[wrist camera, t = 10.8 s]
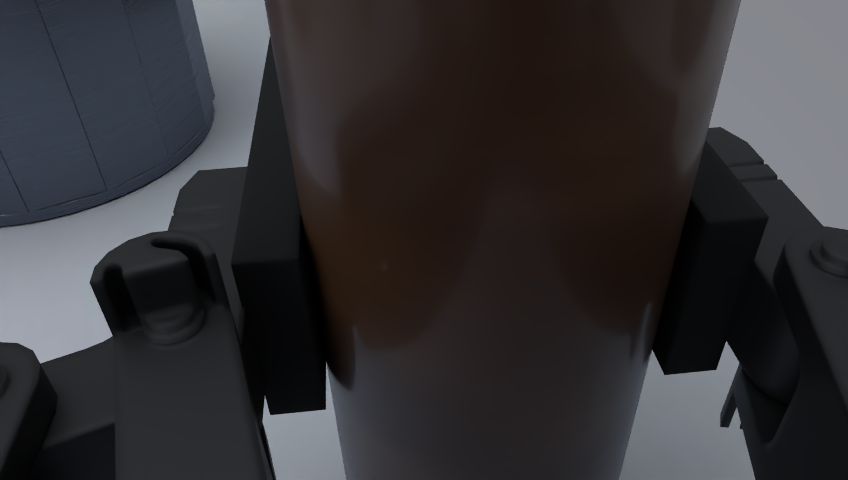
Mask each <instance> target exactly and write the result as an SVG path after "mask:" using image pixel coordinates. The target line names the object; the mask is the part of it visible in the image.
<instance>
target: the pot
mask: <svg viewBox="0 0 848 480" xmlns="http://www.w3.org/2000/svg"><path fill="white" fill-rule="evenodd" d="M214 96H215V95H214V91H213V87H212V83H211V78H210V74H209V70H208V66H207V61H206V57H205V53H204V49H203V44H202V40H201V36H200V32H199V27H198V23H197V19H196V15H195V10H194V6H193V2H192V0H0V227H1V226H10V225H18V224H25V223H30V222H36V221H41V220H47V219H51V218H55V217H59V216H63V215H67V214H71V213H75V212H78V211H81V210H84V209H87V208H90V207H94V206H97V205H100V204H102V203H105V202H107V201H110V200H112V199H115V198H118V197H120V196H123V195H125V194H127V193H129V192H131V191H133V190H135V189H137V188H140V187H142V186H144V185H146V184H147V183H149V182H151V181H153V180H154V179H156V178H158V177H160V176H161V175H163V174H165V173H166V172H167V171H169V170H170V169H172V168H173V167H175V166H176V165H178V164H179V163H180V162H181V161H183V160H184V159H185V158H186V157H187V156H188V155H190V154H191V153H192V152H193V151H194V150H195V149H196V147H197V146H198V145H199V144H200V143H201V142H202V141H203V139H204V138H205V136H206V135H207V133H208V132H209V129H210V127H211V125H212V122H213V117H214V104H213V100H214Z"/></svg>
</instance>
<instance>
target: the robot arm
mask: <svg viewBox="0 0 848 480" xmlns="http://www.w3.org/2000/svg"><path fill="white" fill-rule="evenodd" d="M173 212H174V216H172V218H171V221H170V225H169V228H168V231H162V232H153V233H149V234H146V235H143V236H140V237H137V238H134V239H131V240H128V241H126V242H125V243H123V244H121V245H120V246H118V247H116V248H115V249H113V250H111V251H110V252H108V253H107V254H106V255H105V257H104V258H103V259H102V260H101V261H100V262H99V263H98V264H97V265H96V266H95V268H94V271H93V274H92V277H91V280H90V285H91V287H92V289H93V291H94V294H95V296H96V298H97V301H98V303H99V305H100V307H101V310H102V312H103V314H104V317H105V319H106V321H107V323H108V326H109V328H110V330H111V333H112V335H113V336H112V337H111V338H109V339H107V340H106V341H104V342H102V343H99V344H97V345H94V346H92V347H89V348H87V349H84V350H81V351H78V352H75V353H72V354H69V355H66V356H63V357H59V358H56V359H53V360H50V361H47V362H44V363H41V364H40V363H39V361H38V359H37V357H36V355H35V353H34V352H33V350H31V349H29V348H26V347H24V346H22V345H20V344H18V343H3V342H0V480H276V476H275V472H274V467H273V463H272V458H271V454H270V449H269V445H268V440H267V437H266V433H265V429H264V426H263V422H262V419H263V408H264V398H265V397H266V400H267V404H268V408H269V412H270V415H275V414H285V413H295V412H305V411H315V410H325V409H326V357H325V351H324V346H323V340H322V334H321V328H320V322H319V316H318V311H317V305H316V299H315V293H314V287H313V281H312V275H311V270H310V264H309V258H308V252H307V246H306V240H305V235H304V229H303V223H302V217H301V211H300V205H299V199H298V194H297V188H296V182H295V176H294V170H293V164H292V159H291V153H290V147H289V141H288V135H287V129H286V123H285V118H284V112H283V106H282V100H281V94H280V88H279V83H278V77H277V71H276V65H275V59H274V53H273V47H272V42H271V37H270V39H269V45H268V51H267V57H266V62H265V68H264V74H263V80H262V86H261V91H260V97H259V103H258V109H257V114H256V120H255V126H254V132H253V138H252V143H251V149H250V155H249V161H248V167H238V168H225V169H213V170H200V171H198V172H197V173H196V174H195V175H194V176H193V177H192V178H191V179H190V180H189V181H188V182H187V183H186V184H185V185H184V186H183V187H182V188H181V189H180V191H179V194H178V198H177V201H176V204H175V208H174V211H173ZM726 341H727V342H728V344H729V346H730V347H731V349H732V351H733V352H734V354H735V356H736V357H737V359H738V361H739V362H740V363H739V366H738V369H737V371H736V374H735V377H734V379H733V382H732V385H731V387H730V390H729V393H728V395H727V398H726V401H725V403H724V406H723V409H722V411H721V417H720V427H729V425H730V422H731V420H732V417H733V414H734V412H735V409H736V407H737V409H738V413H739V417H740V420H741V425H740V429H743V432H744V436H745V440H746V444H747V448H748V452H749V456H750V460H751V464H752V468H753V472H754V476H755V479H756V480H848V230H844V229H838V228H832V227H823V226H822V224H821V223H820V222H819V221H818V220H817V219H816V218H815V217H814V216H813V214H812V213H811V212H810V211H809V210H808V209H807V208H806V207H805V206H804V204H803V203H802V202H801V201H800V200H799V199H798V198H797V197H796V196H795V195H794V193H793V192H792V191H791V190H790V189H789V188H788V187H787V186H786V185H785V183H784V182H783V181H782V180H778V179H777V175H776V174H775V172H773V170H772V169H771V168H770V167H769V166H768V165H767V164H764V160H763V159H762V158H761V157H760V156H759V155H758V154H757V153H756V152H755V150H754V149H753V148H752V147H751V146H750V145H749V144H748V143H747V142H746V141H744V140H742V139H740V138H739V137H737V136H735V135H733V134H731V133H730V132H728V131H726V130H725V129H723V128H721V127H718V128H708V132H707V136H706V140H705V143H704V147H703V151H702V155H701V159H700V163H699V167H698V171H697V175H696V179H695V183H694V187H693V190H692V194H691V198H690V202H689V206H688V210H687V214H686V218H685V222H684V226H683V230H682V234H681V238H680V241H679V245H678V249H677V253H676V257H675V261H674V265H673V269H672V273H671V277H670V281H669V285H668V289H667V292H666V296H665V300H664V304H663V308H662V312H661V316H660V320H659V324H658V328H657V332H656V336H655V340H654V343H653V347H652V350H653V352H654V354H655V356H656V358H657V360H658V362H659V364H660V366H661V369H662V371H663V373H664V375H669V374H679V373H689V372H699V371H709V370H716V369H717V366H718V363H719V360H720V357H721V354H722V351H723V348H724V346H725V343H726Z"/></svg>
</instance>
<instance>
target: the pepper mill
mask: <svg viewBox="0 0 848 480" xmlns="http://www.w3.org/2000/svg"><path fill="white" fill-rule="evenodd" d="M264 1H265V7H266V12H267V18H268V24H269V30H270V36H271V42H272V47H273V53H274V59H275V65H276V71H277V77H278V83H279V88H280V94H281V100H282V106H283V112H284V118H285V123H286V129H287V135H288V141H289V147H290V153H291V159H292V164H293V170H294V176H295V182H296V188H297V194H298V199H299V205H300V211H301V217H302V223H303V229H304V235H305V240H306V246H307V252H308V258H309V264H310V270H311V275H312V281H313V287H314V293H315V299H316V305H317V311H318V316H319V322H320V328H321V334H322V340H323V346H324V351H325V357H326V363H327V369H328V375H329V381H330V387H331V392H332V398H333V404H334V410H335V416H336V422H337V427H338V433H339V439H340V445H341V451H342V457H343V463H344V468H345V474H346V480H619V477H620V473H621V469H622V465H623V461H624V457H625V453H626V449H627V445H628V441H629V438H630V434H631V430H632V426H633V422H634V418H635V414H636V410H637V406H638V402H639V398H640V394H641V390H642V387H643V383H644V379H645V375H646V371H647V367H648V363H649V359H650V355H651V351H652V347H653V343H654V340H655V336H656V332H657V328H658V324H659V320H660V316H661V312H662V308H663V304H664V300H665V296H666V292H667V289H668V285H669V281H670V277H671V273H672V269H673V265H674V261H675V257H676V253H677V249H678V245H679V241H680V238H681V234H682V230H683V226H684V222H685V218H686V214H687V210H688V206H689V202H690V198H691V194H692V190H693V187H694V183H695V179H696V175H697V171H698V167H699V163H700V159H701V155H702V151H703V147H704V143H705V140H706V136H707V132H708V128H709V123H710V120H711V116H712V112H713V108H714V104H715V100H716V96H717V92H718V88H719V84H720V81H721V77H722V73H723V69H724V65H725V61H726V57H727V53H728V49H729V45H730V41H731V38H732V33H733V30H734V26H735V22H736V18H737V14H738V10H739V6H740V2H741V0H264Z"/></svg>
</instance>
